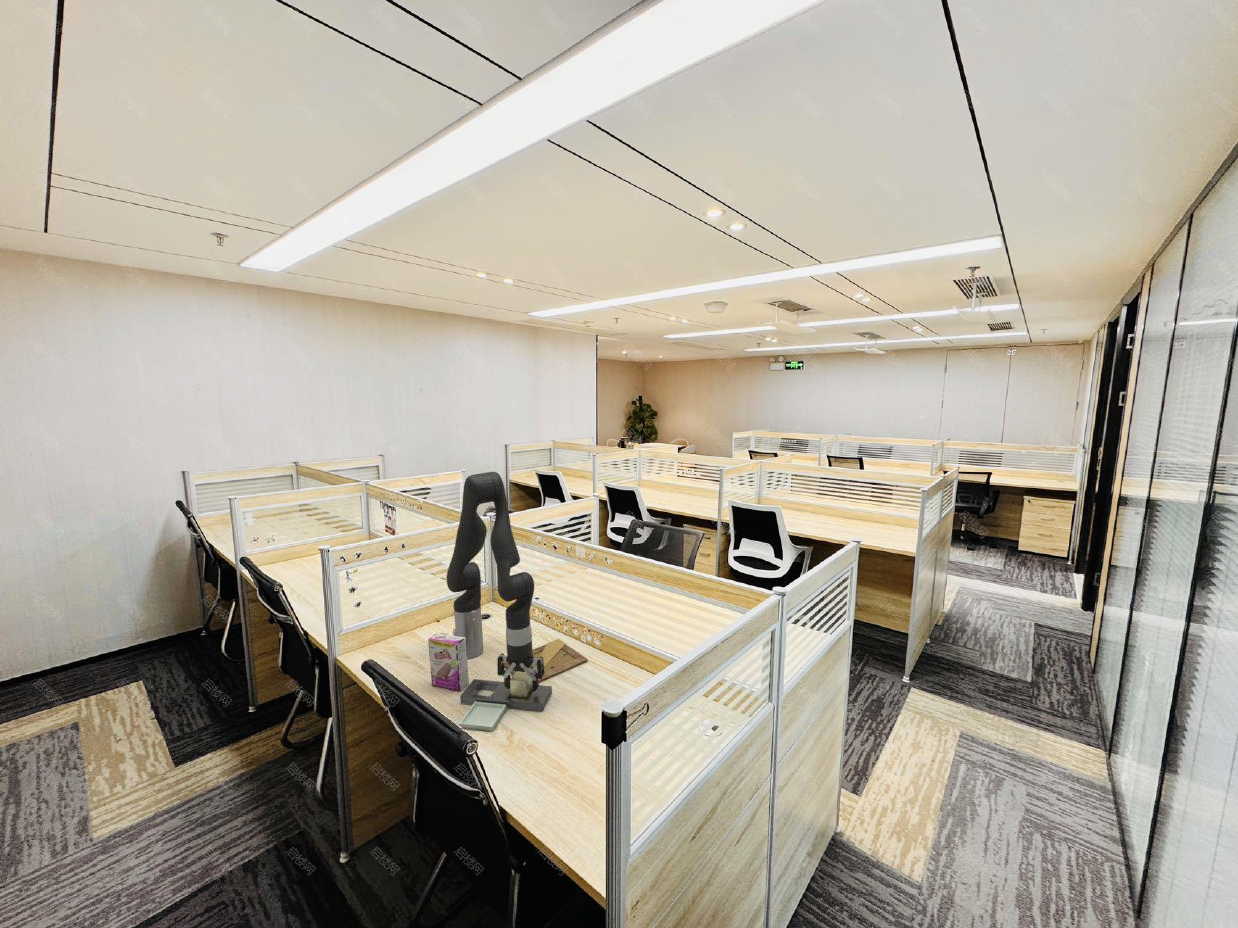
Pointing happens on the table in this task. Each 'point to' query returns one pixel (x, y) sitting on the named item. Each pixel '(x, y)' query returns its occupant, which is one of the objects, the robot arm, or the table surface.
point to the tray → (483, 716)
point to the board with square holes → (505, 696)
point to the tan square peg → (521, 686)
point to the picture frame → (555, 659)
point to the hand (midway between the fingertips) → (521, 688)
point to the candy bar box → (448, 661)
